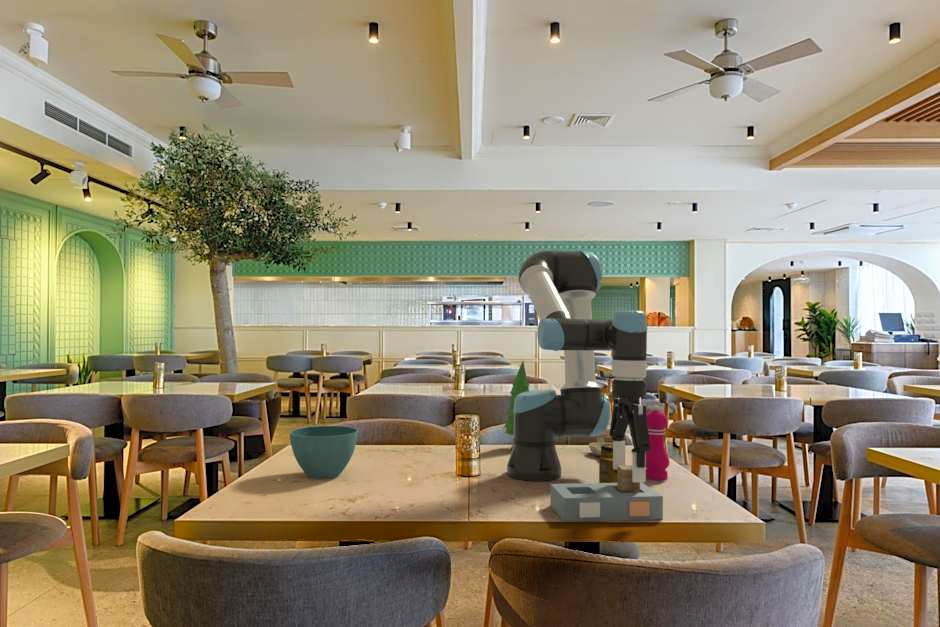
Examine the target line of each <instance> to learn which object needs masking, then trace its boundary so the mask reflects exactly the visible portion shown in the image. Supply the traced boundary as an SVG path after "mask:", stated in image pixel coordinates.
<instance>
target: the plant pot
mask: <svg viewBox="0 0 940 627" xmlns="http://www.w3.org/2000/svg"><path fill="white" fill-rule="evenodd" d="M358 433H359V430H358V429H357V428H355V427H352V426H344V425H343V426H340V425H317V426H316V425H315V426H314V425H313V426H306V427H300V428H296V429H292V430H290V431H289V442H290V445H291V450H292V453H293V456H294V459H295V460H296V462H297V464H298V465H299V467H300V468H301V470H302V471H303V473H304V474H305V475H306V476H307V477H309V478H310V479H314V480H315V479H318V480H326V479H333V478H336V477H338V476H340V475H341V474H342V472H343V471H345V469H346V467H347V466H348V464H349V462H350V461H351V459H352V457H353V454H354V452H355V450H356V445H357V442H358V441H357V440H358V437H359V436H358Z"/></svg>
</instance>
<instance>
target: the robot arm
mask: <svg viewBox="0 0 940 627" xmlns="http://www.w3.org/2000/svg"><path fill="white" fill-rule="evenodd" d="M602 279H603V271H602V266H601V262H600V260H599V258H598V256H597V255H596V254H595V253H594V252H591V251H590V252H589V251H584V250H583V251H582V250H577V251H576V250H575V251H573V250H572V251H569V250H541V251H538V252H535V253H532V254H531V255H529V257H527V258H526V259H525V260H524V262H522V264H521V266H520V268H519V270H518V283H519V286H520V288H521V290H522V291H523V292H524V293H525V294H526V295H528V296H529V299H530V302H531V303H532V306H533V308H534V310H535V313H536V314H537V316H538V319H539V322H538V326H537V332H536V333H537V342H538V345H539V347H540V348H541V349H542V350H546V351H554V352H560V351H563V358H564V360H563V361H564V378H565V380H564V381H565V382H564V384H563V385H562V386H561V388H560V390H559V391H560V394H557V392H556V390H554V389H535V390H529V391H527V392H523V393H520V394H518V395H517V396H516V397H515V400H514V410H513V413H514V435H513V443H514V446H513V450H512V449H511V453H510V456H509V459H508V463H507V467H506V474H507V476H509V477H511V478H513V479H517V480H524V481H535V482H536V481H537V482H538V481H539V482H541V481H542V482H543V481H552V480H556V479H559V478H560V477H562V465H561V461H560V459H559V456H558V452H557V450H556V449H557V448H556V438H557V437H561V438H563V437H567V438H568V437H572V438H573V437H585V438H590V437H589V436H599V435H601V434H603V433H604V432H605V430H606V428H607V429H608V426H609V423H610V428H609V434H610V436H611V440H613V442H612V443H613V469H617V465H626V441H627V436H625V435H626V432H627V430H628V427H629V432H630V436H631V441H632V444H633V445H632V446H633V448H632V449H631V455H632V460H631V461H632V462H631V464H632V482H642V483H646V480H647V478H646V452H647V451H650V450H651V447H650V440H649V432H648V425H647V418H646V414H647V405H646V404H641V402H640V398H645V397H646V396H647V381H646V380H645V378H646V377H647V369H648V367H649V365H648V364H647V348H648V346H647V345H648V343H647V341H648V340H647V339H648V338H647V337H648V335H647V334H648V323H647V314H646V313H645V312H644V311H642V310H615V311H614V312H613V314H612V319H611V318H610V319H609V318H607V319H594V318H593V314H592V313H593V311H592V300H593V299H594V298H595V297H596V296H597V293H596V292H597V291H599V290H600V289H601V287H602V284H603V282H602ZM595 351H600V352H601V351H605V352H606V351H611V352H612V359H611V376H612V377H613V380H612V382H611V384H612V386H611V393H612V395H613V396H615V397H613V407H612V415H611V402H610V398H609V396H608V395H606V394H605V393H603V391H602V387H601V385H599V383H597V380H596V378H597V377H596V364H595V362H596V361H595ZM610 416H611V417H610ZM610 418H611V422H610Z"/></svg>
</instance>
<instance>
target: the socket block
mask: <svg viewBox="0 0 940 627" xmlns="http://www.w3.org/2000/svg"><path fill="white" fill-rule="evenodd" d="M549 504H550V507H551V508H552V510H554V511H555V513H556V514H557V515H558V517H559V518H560V519H561V520H562V521H563V523H566V522H569V523H571V522H610V521H611V522H612V521H642V520H643V521H645V520H647V521H648V520H649V521H651V520H653V521H654V520H664V514H663V513H664V512H663V511H664V496H663V495H662V494H660V493H659V492H658V491H656V490H654V489H653V488H651V487H650V486H648V485H646V484H645V483H644V482H640V493H620V492H619V491H618V490H617V483H599V482H594V483H593V482H587V483H585V482H584V483H550V502H549Z"/></svg>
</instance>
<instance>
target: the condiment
mask: <svg viewBox="0 0 940 627" xmlns="http://www.w3.org/2000/svg"><path fill="white" fill-rule="evenodd" d="M598 460H599V461H598V471H599V472H598V473H599V474H598V476H599V477H598V483H617V469H613V444H604V445H602V446H601V456H598Z"/></svg>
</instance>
